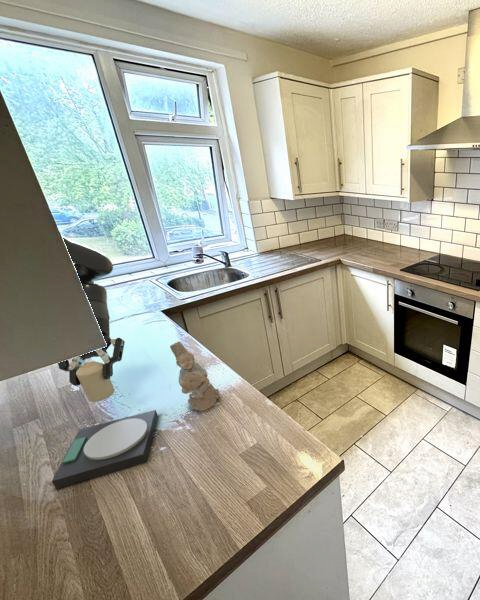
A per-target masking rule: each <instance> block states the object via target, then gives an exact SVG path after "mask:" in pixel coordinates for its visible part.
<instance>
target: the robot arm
mask: <svg viewBox="0 0 480 600" xmlns="http://www.w3.org/2000/svg"><path fill="white" fill-rule="evenodd" d="M62 237H63V239H64V242H65V244H66V246H67V249H68V252H69V254H70V256H71V259H72V261H73V263H74V266H75V268H76V270H77V273H78V276H79V278H80V281H81V283H82V286H83V289H84V291H85V293H86V295H87V297H88V300H89V302H90V304H91V307H92V309H93V312H94V315H95V317H96V319H97V321H98V324H99V326H100V329H101V331H102V334H103V336H104V339H105V341H106V343H107V347H105V348H102V349H99V350H96V351H93V352H90V353H87V354H84V355H82V356H78V357H76V358H73V357H72V358H73V359H72V358H71V362H70V361H69V359H68V360H66V361H63V362H60V363H58V362H57V365H58V369H59V370H61V371H64V372H69V373H68V374H69V375H68V376H69V378H68V379H69V380H68V381H69V383H70V384H71V385H72V386H76V387H77V386H81V384H80V381H79V379H78V377H77V375H76V372H77V370H78V369H79V368H80V367H81V366H83V364H84V363H86V360H88V359H91V358H98V357H99V358H100V359H101V360H102V363H103V378H104V379H106V380H107V379H110V380H111V377H113V375H114V367H113V365H114V364H115V363H117V362H121V361H122V359H123V353H124V349H125V340H124V339H122V338H121V337H116V338H111V337H110V336H111V335H110V334H111V332H110V331H111V330H110V320H111V319H110V318H111V317H110V312H109V307H108V292H107V289H106V288H105V286H104V285H102V284H99V283H95V281H96V280H99V279H102V278H104V277H107V276H109V275H110V274H112V272H113V271H114V265H113V263H112V261H111V260H110V258H108V256H107V255H105V254H103V253H102V252H100V251H98V250H96V249H93V248H91V247H88V246H86V245H83V244H80V243H78V242H75V241H72V240H70V239H68V238H67V237H65V236H64V235H62ZM111 345H112V347H113V350H112V351H113V352H112V356H110V354H109V353H108V351H107V350H108V349H109V347H110V346H111Z"/></svg>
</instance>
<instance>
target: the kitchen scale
mask: <svg viewBox="0 0 480 600" xmlns="http://www.w3.org/2000/svg"><path fill="white" fill-rule="evenodd" d="M158 419H159V414H158V412H157V410H156V409H153V410H150V411H149V410H148V411H145V412H142V413H138V414H133V415H130V416H126V417H122V418H118V419H115V420H111V421H106V422H103V423H99V424H95V425H91V426H86V427H82V428H79V429H78V432H77V433H76V435H75V437H74V439H73V440H72V442H71V444H70V446H69V448H68V450H67V451H66V454H65V456H64V458H63V459H62V461H61V462H60V465H59V467H58V469H57V470H56V472H55V474H54V475H53V478H52V479H51V483H52V485H53V487H54V489H56V490H58V489H61V488H64V487H67V486H71V485H74V484H77V483H80V482H84V481H87V480H91V479H94V478H97V477H100V476H104V475H107V474H111V473H113V472H117V471H120V470H123V469H125V468H130V467H134V466H136V465H139V464H143V463H146V462H147V461H148V456H149V453H150V449H151V445H152V441H153V438H154V434H155V431H156V427H157V423H158Z"/></svg>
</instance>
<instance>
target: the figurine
mask: <svg viewBox="0 0 480 600" xmlns="http://www.w3.org/2000/svg"><path fill="white" fill-rule="evenodd" d="M169 348H170V351H171V352H172V354H173V355H174V357H175V360H176V361H175V364H176V365H177V366H178V367H179V368H180V369H179V375H178V384H179V386H180V387H181V393H182V394H185V395H186V394H187V395H188V399H187V403H188V404H189V405H190V409H191V410H195V411H198V412H203V411H206V410H208V409H210V408H211V407H214V405H215V404H216V403H217V400H218V399H219V398H220V397H219V396H220V392H219V390H220V389H218V388H215V387H214V385H213V384H212V383H211V382H210V379H209V378H208V371H207V370H206V369H205V368H204V367H203V366H202V365H201V364H200V363H199V362H196V361H195V357H194V353H191V352H190V351H188V350H187V348H186V347H185V345H184V344H183V343H182V342H181V341H176V342H175V343H173V344H171V345H170V346H169Z"/></svg>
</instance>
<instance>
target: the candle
mask: <svg viewBox="0 0 480 600" xmlns="http://www.w3.org/2000/svg"><path fill="white" fill-rule="evenodd" d="M103 364H104V362H100V361H95V360H92V361H85V362H84V363H83V364H82V366H81V367H80V368H79V369H78V370H77V372H76V375H77V377H78V379H79V381H80V386H81V388H82V390H83V392H84V395H85V396H86V398H87V400H88V401H89V402H91V403H97V402H101V401H104V400H106V399H108V398H110V397H112V396H113V395H114V394H115V391H116V389H115V387H114V384H113V383H112V379H111V378H110V379H107V380H106V379H104V378H103Z"/></svg>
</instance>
